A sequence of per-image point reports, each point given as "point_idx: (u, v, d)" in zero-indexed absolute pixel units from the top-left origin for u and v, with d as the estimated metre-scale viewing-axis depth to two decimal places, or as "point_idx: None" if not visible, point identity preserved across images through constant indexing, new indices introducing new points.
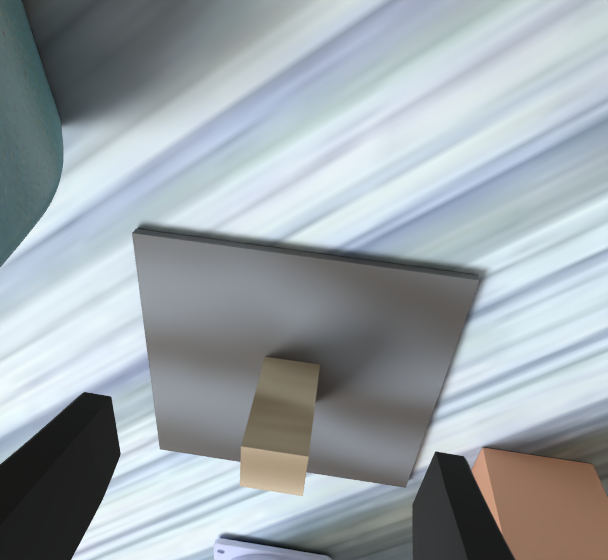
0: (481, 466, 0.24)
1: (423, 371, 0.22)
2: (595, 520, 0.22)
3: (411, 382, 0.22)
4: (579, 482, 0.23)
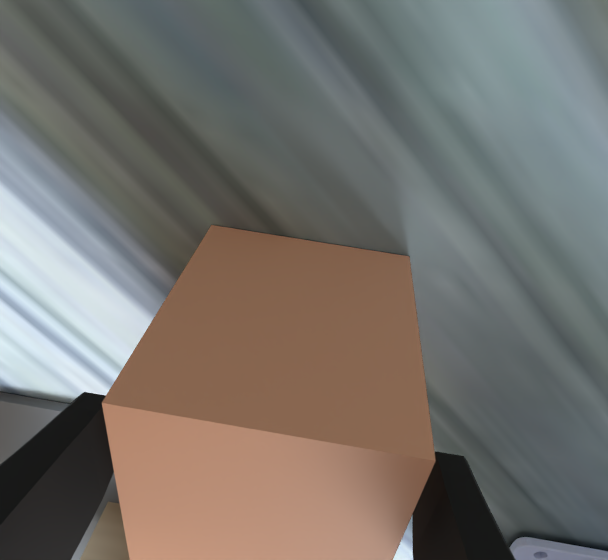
0: None
1: None
2: None
3: None
4: None
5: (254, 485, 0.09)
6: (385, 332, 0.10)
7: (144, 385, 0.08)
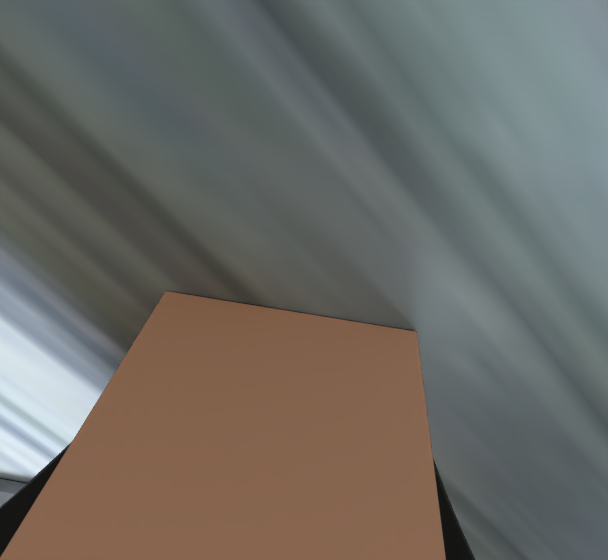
0: None
1: None
2: None
3: None
4: None
5: None
6: (387, 465, 0.08)
7: None
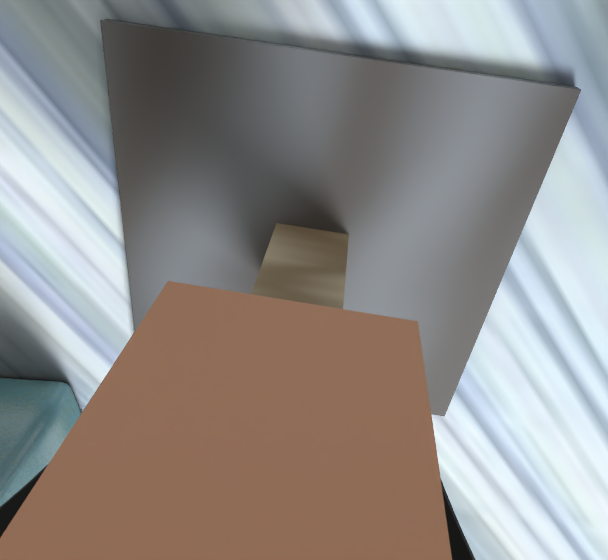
0: None
1: (271, 82, 0.14)
2: None
3: (296, 99, 0.15)
4: None
5: None
6: (390, 447, 0.08)
7: None
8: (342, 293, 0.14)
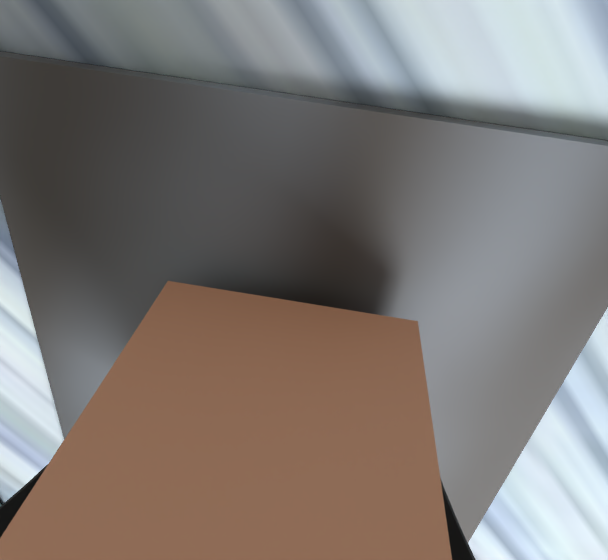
0: None
1: (223, 142, 0.10)
2: None
3: (261, 165, 0.10)
4: None
5: None
6: (390, 447, 0.08)
7: None
8: None
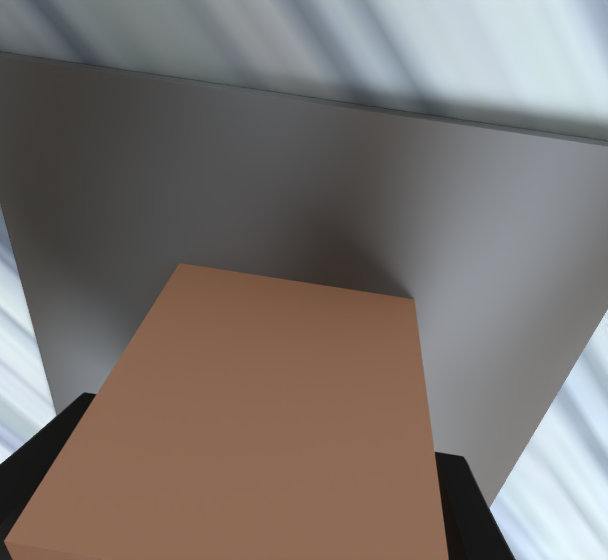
0: None
1: (222, 143, 0.10)
2: None
3: (260, 166, 0.10)
4: None
5: None
6: (386, 410, 0.08)
7: (67, 508, 0.06)
8: None
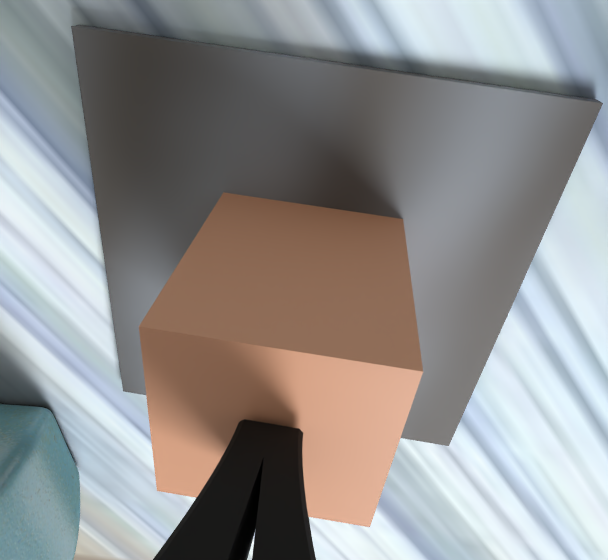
0: None
1: (260, 94, 0.13)
2: None
3: (288, 112, 0.13)
4: None
5: (268, 402, 0.10)
6: (381, 277, 0.12)
7: (173, 314, 0.10)
8: None
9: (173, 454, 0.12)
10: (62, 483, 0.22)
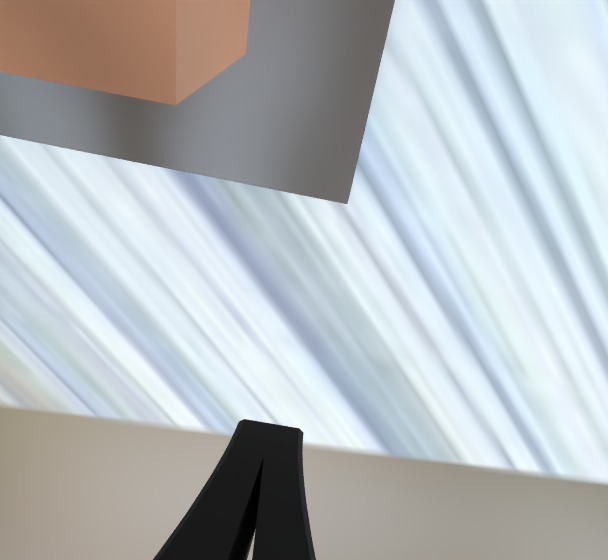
0: None
1: None
2: None
3: None
4: None
5: None
6: None
7: None
8: None
9: None
10: None
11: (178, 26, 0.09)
